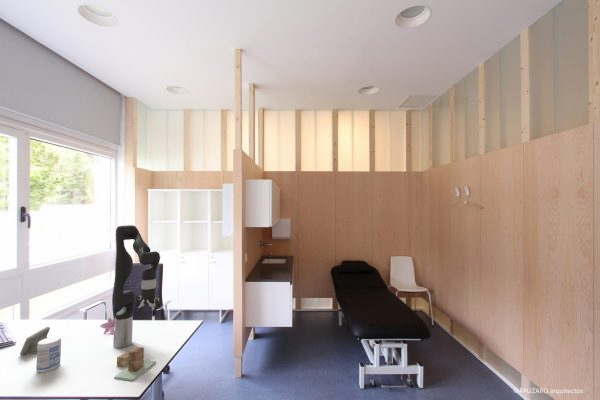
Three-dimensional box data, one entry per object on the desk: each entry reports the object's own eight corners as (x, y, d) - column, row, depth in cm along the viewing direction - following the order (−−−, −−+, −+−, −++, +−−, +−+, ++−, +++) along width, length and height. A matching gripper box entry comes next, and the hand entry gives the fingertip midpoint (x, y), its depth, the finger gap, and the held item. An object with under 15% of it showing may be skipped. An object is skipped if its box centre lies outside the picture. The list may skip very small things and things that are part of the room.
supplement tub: (52, 371, 141) (53, 343, 141) (31, 374, 139) (32, 345, 139) (64, 361, 150) (65, 335, 151) (44, 363, 148) (45, 336, 149)
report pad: (114, 378, 136) (114, 376, 136) (138, 360, 152) (138, 359, 152) (133, 381, 134) (133, 379, 134) (155, 363, 150) (155, 361, 150)
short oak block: (116, 366, 147) (117, 356, 147) (124, 361, 152) (124, 352, 152) (124, 367, 146) (124, 357, 146) (131, 362, 151) (132, 353, 151)
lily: (98, 333, 186) (96, 324, 182) (114, 321, 196) (112, 312, 192) (111, 341, 183) (108, 332, 178) (126, 328, 193) (125, 319, 189)
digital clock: (42, 342, 171) (42, 325, 172) (55, 343, 171) (56, 326, 171) (14, 356, 155) (14, 338, 156) (28, 357, 155) (29, 338, 155)
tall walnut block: (128, 370, 141) (128, 351, 141) (135, 365, 146) (136, 346, 146) (136, 371, 140) (136, 352, 140) (143, 366, 145) (144, 347, 145)
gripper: (132, 287, 152) (131, 316, 152) (154, 289, 149) (153, 319, 149) (143, 283, 160) (142, 311, 159) (164, 286, 157) (162, 313, 156)
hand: (147, 315), depth 154 cm, fingers open, 8 cm apart
